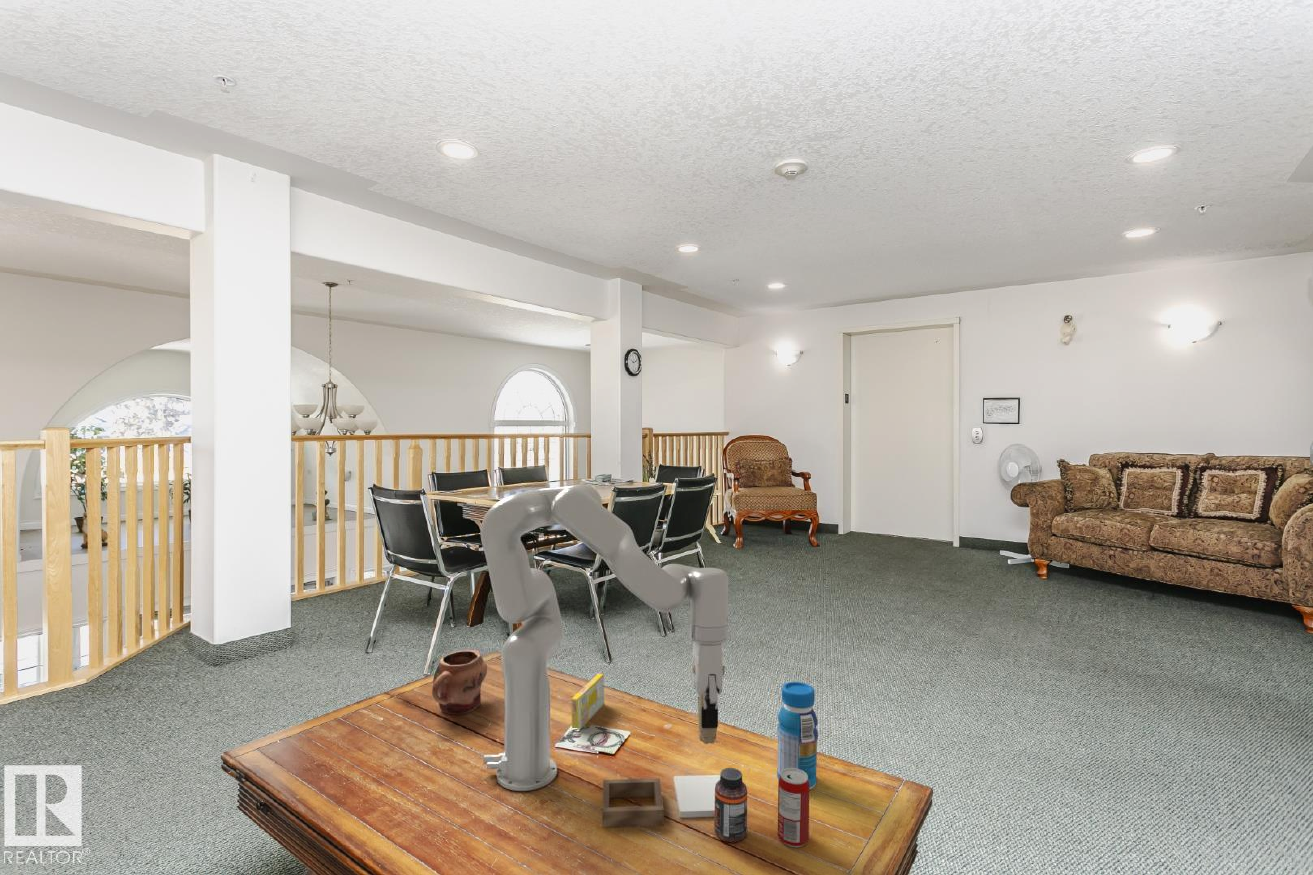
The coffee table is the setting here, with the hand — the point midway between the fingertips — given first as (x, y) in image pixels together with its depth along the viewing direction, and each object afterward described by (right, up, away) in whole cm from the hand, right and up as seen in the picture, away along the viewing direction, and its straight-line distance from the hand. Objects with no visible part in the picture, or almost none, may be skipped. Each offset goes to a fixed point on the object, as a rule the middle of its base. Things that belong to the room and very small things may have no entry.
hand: (707, 720), depth 126 cm
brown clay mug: (-62, -14, +37) cm, 74 cm away
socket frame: (-15, -16, -4) cm, 22 cm away
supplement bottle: (+3, -16, -10) cm, 20 cm away
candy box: (-28, -15, +35) cm, 47 cm away
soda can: (+15, -16, -12) cm, 25 cm away
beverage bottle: (+19, -16, +7) cm, 26 cm away
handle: (0, -4, 0) cm, 4 cm away
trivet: (0, -16, 0) cm, 16 cm away
